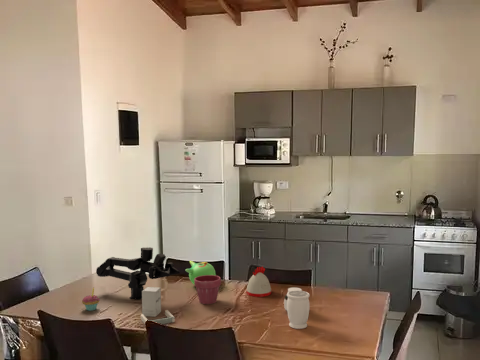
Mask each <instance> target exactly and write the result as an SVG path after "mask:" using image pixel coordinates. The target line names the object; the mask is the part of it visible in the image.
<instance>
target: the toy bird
mask: <svg viewBox="0 0 480 360" xmlns="http://www.w3.org/2000/svg"><path fill="white" fill-rule="evenodd" d="M189 264H190V266H191V267H190V268H186V269H185V272H186V273H188V277H189V281H190V282H191V283H192V284H193V285H194V279H195V278H196V277H198V276H203V275H215V276H217V274H216V270H215V268H214V266H213V265H212V264H210V263H208V261H202V262H201V261H200V262H194V261H193V260H189Z"/></svg>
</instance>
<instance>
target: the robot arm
mask: <svg viewBox="0 0 480 360" xmlns="http://www.w3.org/2000/svg"><path fill="white" fill-rule="evenodd" d="M153 254H154V248H153V247H141V248H140V257H136V258H131V259H130V258H120V257H114V256H111V257H109V258H107V259H106V260H105V261H104V262H103V263H101V264H100V265H99V266H97V267H96V270H95V271H96V272H95V273H96V276H97V277H100V278H102V277H103V278H107V277H112V278H115V279H120V280H124V281H127V282H128V285H127V286H128V288H129V289H130V297H129V299H131V300H136V301H137V300H138V301H139V300H142V291H143V290H144V289H145V288H144V287H145V285H146V283H147V281H148V279H150V280H155V279H161V278H166V277H170V276H172V275H173V276H174V275H178V274H180V272H181V271H180V270H178V269H177V268H175V263H173V262H168V263H166V264H165V267H164V261H165V260H166V257H167V256H166V255H165V253H164V254H163V253H157V254H156V255H155V257H154V260H153V256H154V255H153ZM151 260H153V262H151ZM114 267H124V268H127V269H128V270H131V271H133V272H130V271H126V270H121V269H117V268H114ZM147 273H148V275H147Z"/></svg>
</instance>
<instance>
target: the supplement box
mask: <svg viewBox="0 0 480 360" xmlns="http://www.w3.org/2000/svg"><path fill="white" fill-rule="evenodd" d="M161 288H162V287H156V286H155V287H153V286H146V288H144V290H143V291H142V298H141V308H142V309H141V314H143V315H144V316H145V317H153V318H155V317H157V316H158V315H159V314H160V313H161V312H162V293H161V291H162V289H161Z"/></svg>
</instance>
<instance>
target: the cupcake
mask: <svg viewBox="0 0 480 360" xmlns="http://www.w3.org/2000/svg"><path fill="white" fill-rule="evenodd" d="M94 291H95V287H94V286H93V287H92V293H91V294H90V295H86V296H84V297H83V298H82V301H81V304H82V305H84V306H85V310H86V311H89V312H90V311H91V312H92V311H95V310H97V307H98V303H100V300H101V299H100V297H99V296H97V295H95V293H94Z"/></svg>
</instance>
